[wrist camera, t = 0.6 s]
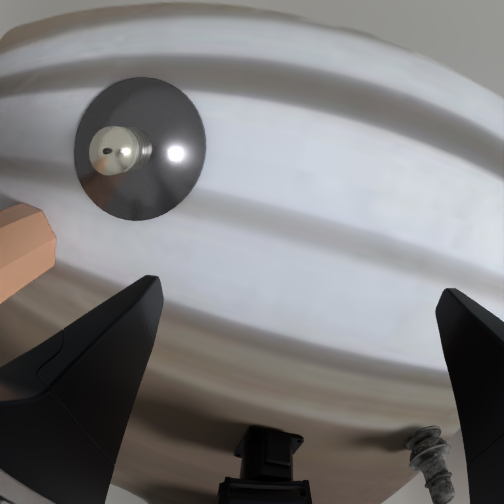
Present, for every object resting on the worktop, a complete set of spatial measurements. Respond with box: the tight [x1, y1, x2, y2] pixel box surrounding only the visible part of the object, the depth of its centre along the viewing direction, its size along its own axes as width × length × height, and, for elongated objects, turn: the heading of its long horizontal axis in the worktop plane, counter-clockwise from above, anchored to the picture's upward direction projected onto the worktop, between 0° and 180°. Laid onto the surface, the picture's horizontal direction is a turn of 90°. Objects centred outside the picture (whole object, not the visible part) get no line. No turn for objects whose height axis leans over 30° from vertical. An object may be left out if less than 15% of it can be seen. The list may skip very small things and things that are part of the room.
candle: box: [74, 77, 206, 221], centre depth 19 cm, size 11×11×5 cm
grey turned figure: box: [405, 426, 455, 504], centre depth 25 cm, size 6×6×12 cm
